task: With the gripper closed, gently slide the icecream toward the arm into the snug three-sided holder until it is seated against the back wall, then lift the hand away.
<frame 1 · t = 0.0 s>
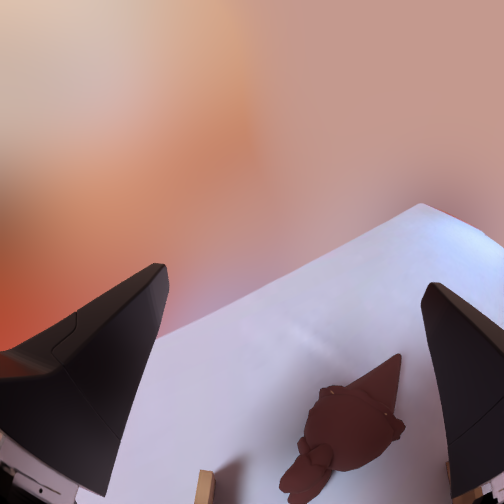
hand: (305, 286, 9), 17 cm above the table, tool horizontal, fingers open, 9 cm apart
icecream: (340, 439, 19), on the table
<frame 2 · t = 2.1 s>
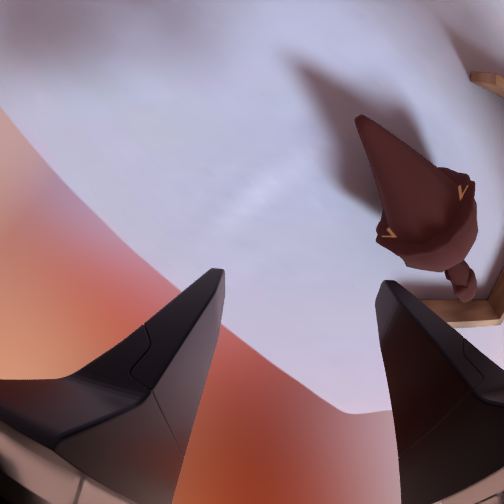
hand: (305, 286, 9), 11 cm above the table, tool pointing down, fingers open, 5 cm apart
holder: (491, 210, 18), on the table
icecream: (406, 194, 18), on the table
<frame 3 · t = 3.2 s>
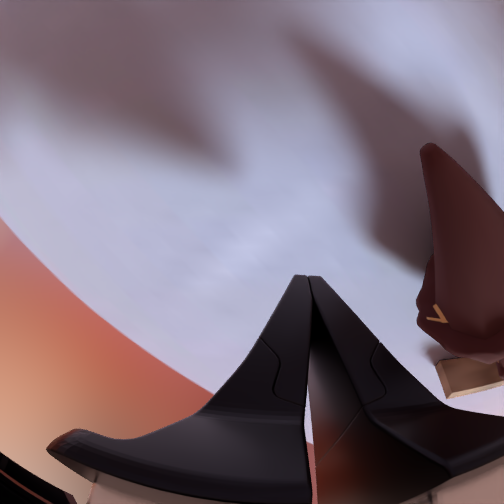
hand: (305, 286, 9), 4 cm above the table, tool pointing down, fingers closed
icecream: (455, 245, 12), on the table
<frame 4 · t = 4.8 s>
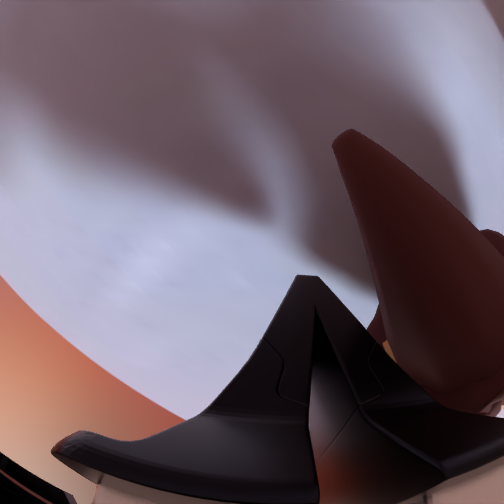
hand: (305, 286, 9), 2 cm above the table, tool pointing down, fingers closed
icecream: (423, 265, 11), on the table, touching gripper
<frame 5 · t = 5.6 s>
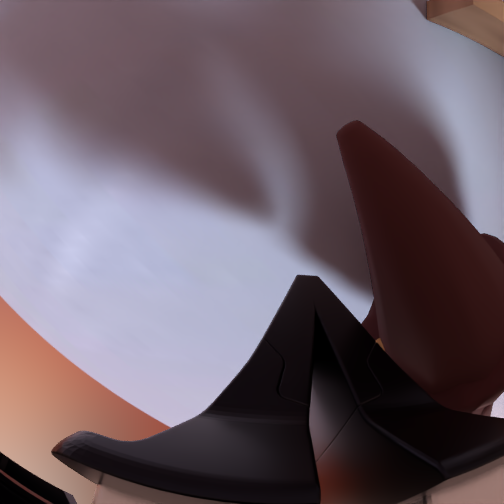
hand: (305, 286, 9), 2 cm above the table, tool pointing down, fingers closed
holder: (477, 267, 10), on the table
icecream: (419, 266, 11), on the table, touching gripper
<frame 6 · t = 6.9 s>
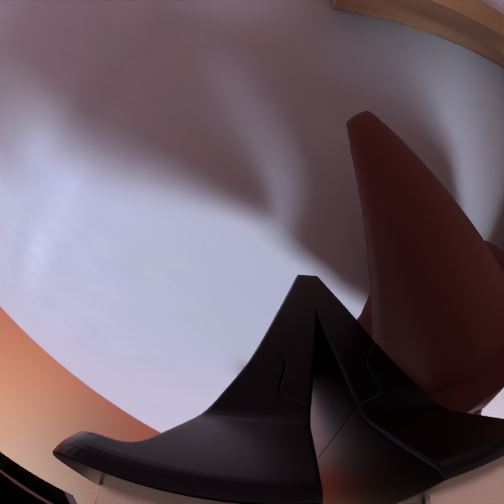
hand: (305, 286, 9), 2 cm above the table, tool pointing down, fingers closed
holder: (420, 269, 11), on the table
icecream: (413, 270, 11), on the table, touching gripper, holder
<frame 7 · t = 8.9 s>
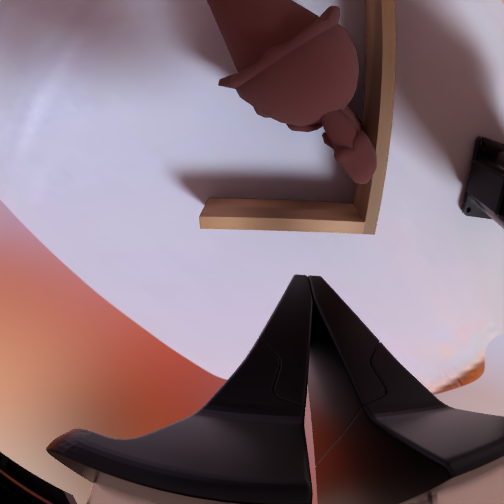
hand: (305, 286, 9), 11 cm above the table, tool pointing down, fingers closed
holder: (285, 59, 15), on the table
icecream: (283, 62, 15), on the table
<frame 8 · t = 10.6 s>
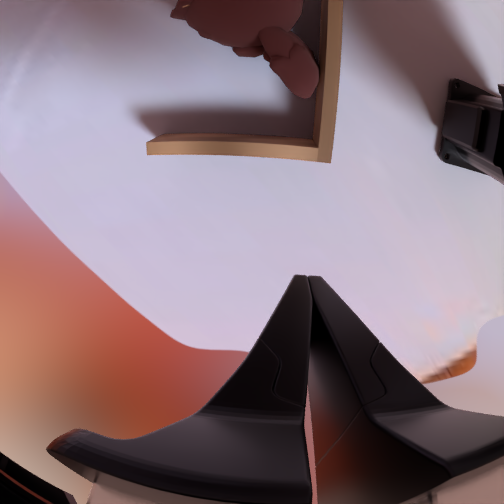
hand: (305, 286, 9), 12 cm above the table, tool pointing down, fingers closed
holder: (241, 1, 13), on the table
icecream: (241, 4, 13), on the table
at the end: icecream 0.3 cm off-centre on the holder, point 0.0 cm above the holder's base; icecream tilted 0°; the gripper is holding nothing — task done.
